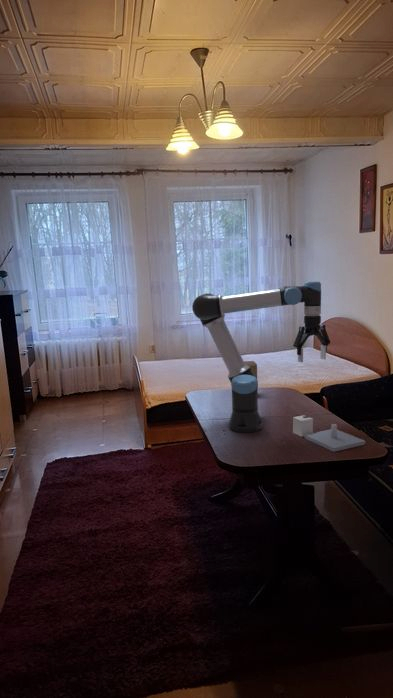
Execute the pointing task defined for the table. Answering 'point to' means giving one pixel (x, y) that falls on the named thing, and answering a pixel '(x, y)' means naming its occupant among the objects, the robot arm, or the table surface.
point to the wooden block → (252, 366)
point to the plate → (334, 439)
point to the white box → (302, 425)
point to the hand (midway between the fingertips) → (311, 360)
